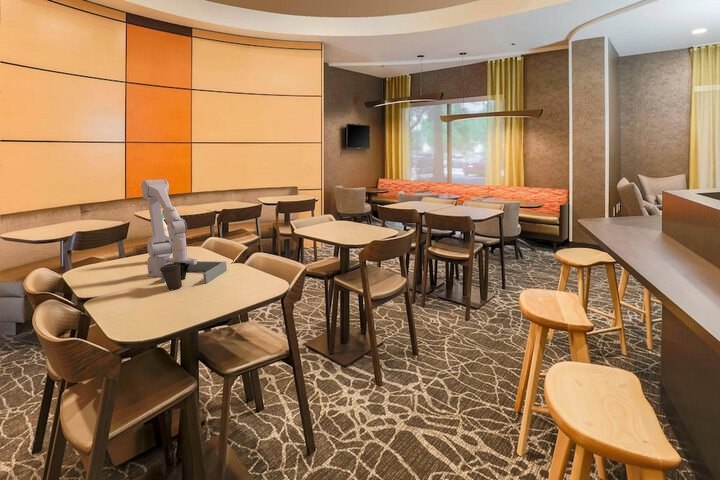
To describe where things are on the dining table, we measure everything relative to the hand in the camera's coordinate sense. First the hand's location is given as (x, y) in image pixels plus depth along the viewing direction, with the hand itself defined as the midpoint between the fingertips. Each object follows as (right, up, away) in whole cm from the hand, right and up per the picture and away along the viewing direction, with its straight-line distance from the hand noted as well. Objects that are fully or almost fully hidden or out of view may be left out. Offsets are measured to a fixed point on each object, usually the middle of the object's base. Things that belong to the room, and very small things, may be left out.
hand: (182, 279), depth 174 cm
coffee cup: (-1, -3, -5) cm, 6 cm away
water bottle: (-28, +6, +41) cm, 50 cm away
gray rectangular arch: (+1, 0, +11) cm, 11 cm away
